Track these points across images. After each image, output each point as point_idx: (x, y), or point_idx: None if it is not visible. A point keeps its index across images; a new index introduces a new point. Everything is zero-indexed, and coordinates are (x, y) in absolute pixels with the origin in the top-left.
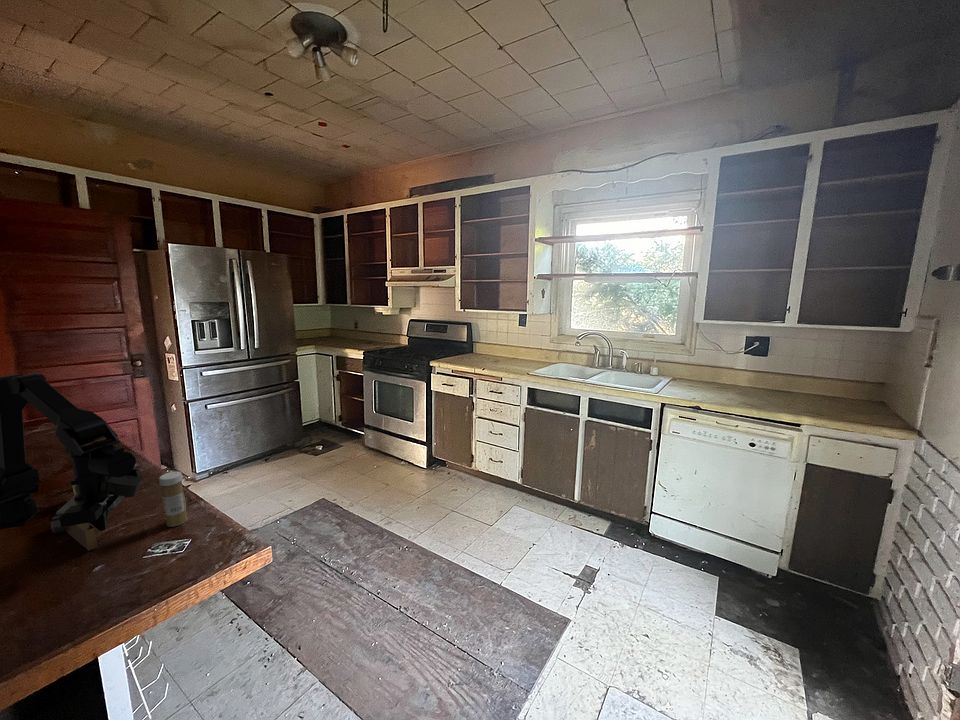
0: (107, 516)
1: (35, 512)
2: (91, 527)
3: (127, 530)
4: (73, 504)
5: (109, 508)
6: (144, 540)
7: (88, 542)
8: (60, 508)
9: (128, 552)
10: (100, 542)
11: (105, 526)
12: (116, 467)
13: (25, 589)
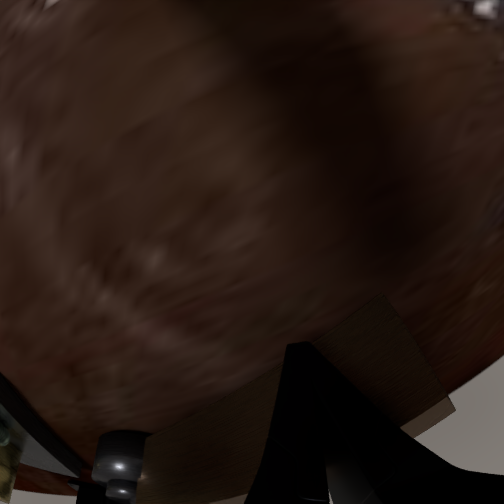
0: (312, 425)
1: (84, 490)
2: (428, 412)
3: (193, 217)
4: (35, 459)
5: (286, 498)
6: (390, 37)
7: (417, 344)
8: (60, 473)
9: (480, 104)
10: (305, 307)
11: (321, 359)
12: None
13: (489, 352)
